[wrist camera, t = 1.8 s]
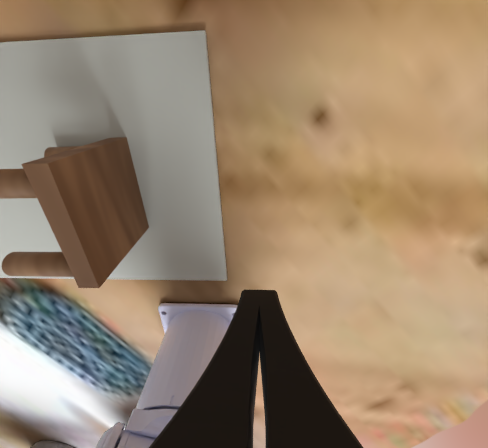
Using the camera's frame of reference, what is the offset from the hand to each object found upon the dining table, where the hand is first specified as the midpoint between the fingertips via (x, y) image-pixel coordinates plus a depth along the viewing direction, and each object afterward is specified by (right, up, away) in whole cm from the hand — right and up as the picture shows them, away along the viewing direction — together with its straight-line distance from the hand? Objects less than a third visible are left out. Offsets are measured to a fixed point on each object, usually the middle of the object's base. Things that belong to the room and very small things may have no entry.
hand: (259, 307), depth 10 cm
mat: (-14, +6, +9) cm, 18 cm away
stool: (-11, +6, +8) cm, 15 cm away
